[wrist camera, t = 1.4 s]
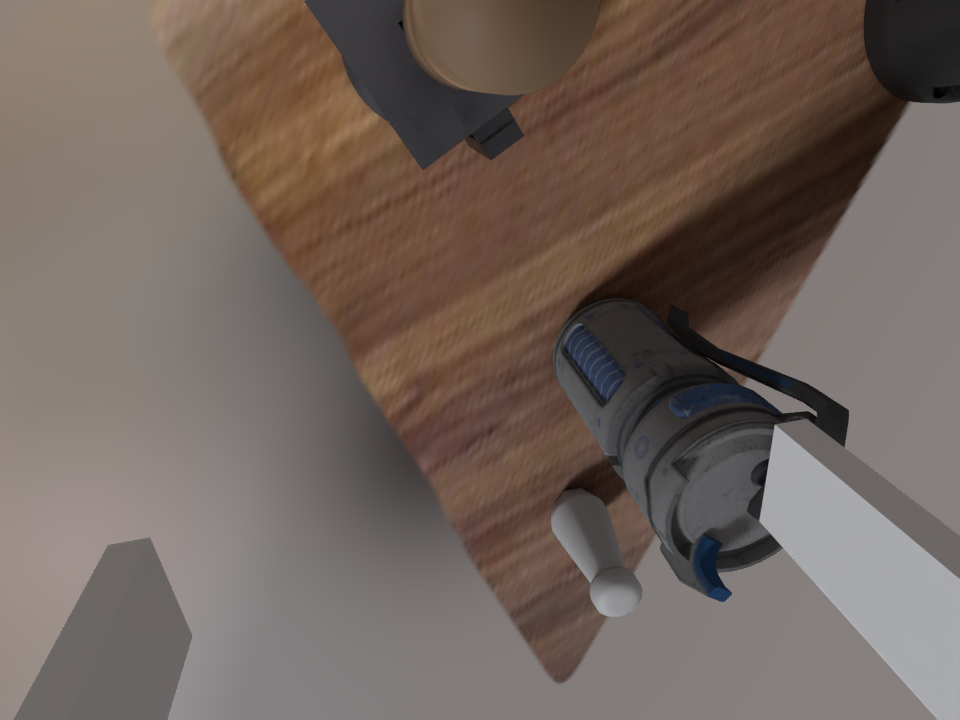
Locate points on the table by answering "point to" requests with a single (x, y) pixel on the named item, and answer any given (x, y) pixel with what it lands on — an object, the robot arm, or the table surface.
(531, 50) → the plunger
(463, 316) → the table surface
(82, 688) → the robot arm
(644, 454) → the beverage bottle
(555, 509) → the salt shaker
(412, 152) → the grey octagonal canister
